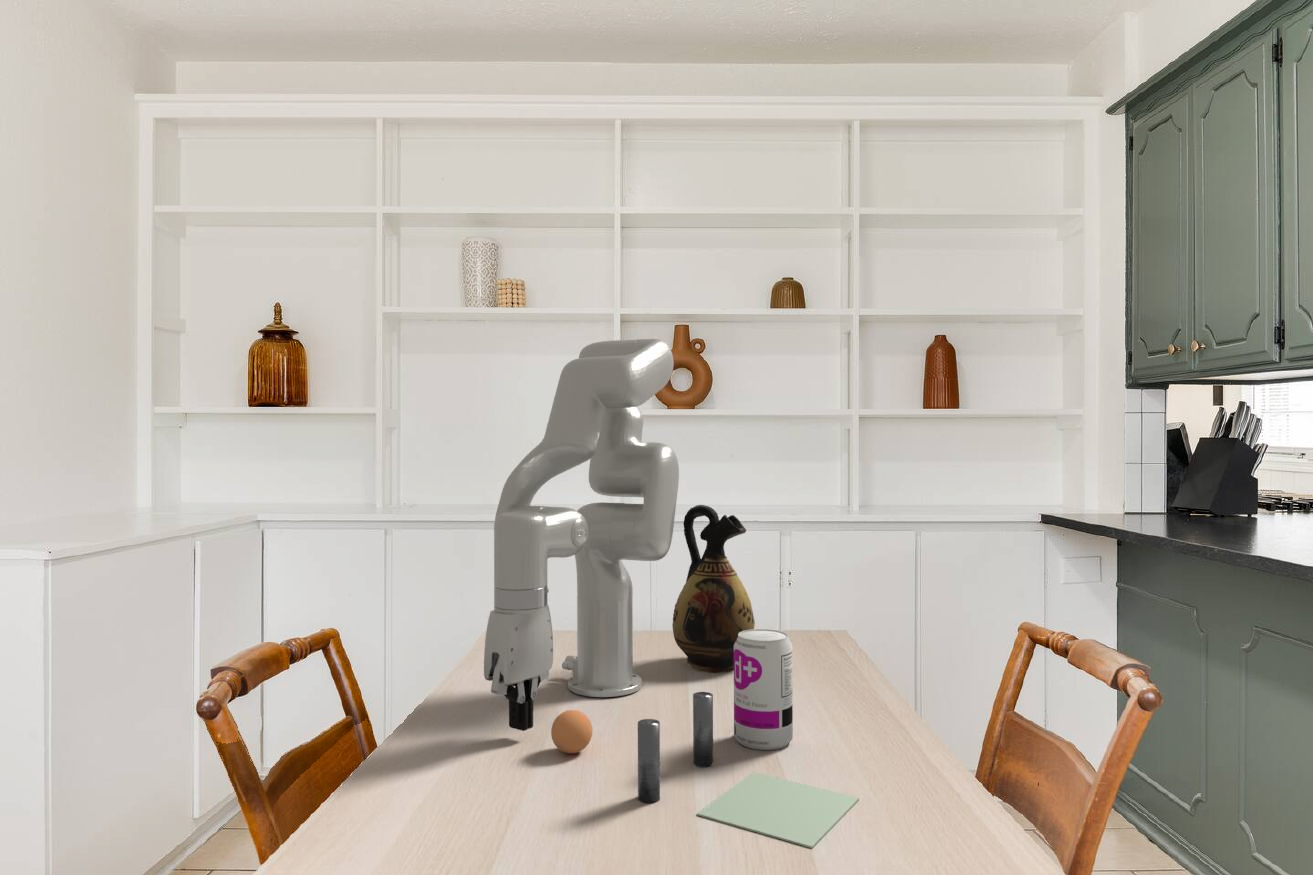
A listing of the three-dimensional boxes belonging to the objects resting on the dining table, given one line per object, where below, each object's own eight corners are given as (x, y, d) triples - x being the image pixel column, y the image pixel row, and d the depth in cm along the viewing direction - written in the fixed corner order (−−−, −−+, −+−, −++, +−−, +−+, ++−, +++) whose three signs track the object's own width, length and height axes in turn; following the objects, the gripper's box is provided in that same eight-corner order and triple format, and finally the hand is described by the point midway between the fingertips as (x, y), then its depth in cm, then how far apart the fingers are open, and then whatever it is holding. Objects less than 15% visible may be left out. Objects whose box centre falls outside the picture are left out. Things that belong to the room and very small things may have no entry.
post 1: (633, 799, 99) (633, 723, 99) (646, 791, 101) (645, 717, 101) (651, 804, 97) (651, 727, 97) (664, 796, 99) (663, 721, 99)
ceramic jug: (766, 660, 160) (766, 504, 160) (735, 681, 146) (735, 510, 146) (687, 650, 168) (686, 501, 168) (650, 669, 154) (650, 507, 154)
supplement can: (755, 755, 112) (755, 644, 112) (723, 736, 119) (722, 631, 119) (804, 745, 116) (804, 637, 116) (770, 727, 123) (769, 625, 123)
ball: (542, 754, 113) (542, 712, 113) (569, 741, 118) (569, 701, 118) (574, 762, 110) (574, 720, 110) (600, 749, 115) (600, 708, 115)
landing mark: (696, 814, 95) (696, 813, 95) (753, 773, 106) (753, 771, 106) (812, 848, 87) (812, 846, 87) (859, 799, 99) (859, 797, 99)
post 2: (689, 764, 109) (689, 695, 109) (699, 757, 111) (699, 690, 111) (706, 768, 108) (706, 699, 108) (716, 762, 110) (716, 693, 110)
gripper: (536, 588, 127) (536, 708, 127) (463, 604, 115) (463, 737, 115) (574, 593, 123) (575, 717, 123) (502, 610, 111) (502, 749, 110)
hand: (521, 727), depth 119 cm, fingers closed
